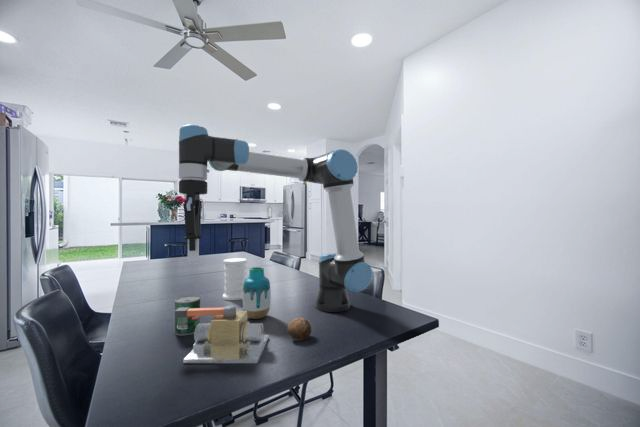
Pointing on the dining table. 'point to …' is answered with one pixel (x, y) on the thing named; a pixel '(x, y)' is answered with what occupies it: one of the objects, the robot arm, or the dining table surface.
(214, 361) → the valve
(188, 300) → the canned tomato
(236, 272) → the decorative container
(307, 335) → the brown round lump
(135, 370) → the dining table surface
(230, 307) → the lever
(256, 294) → the vase
